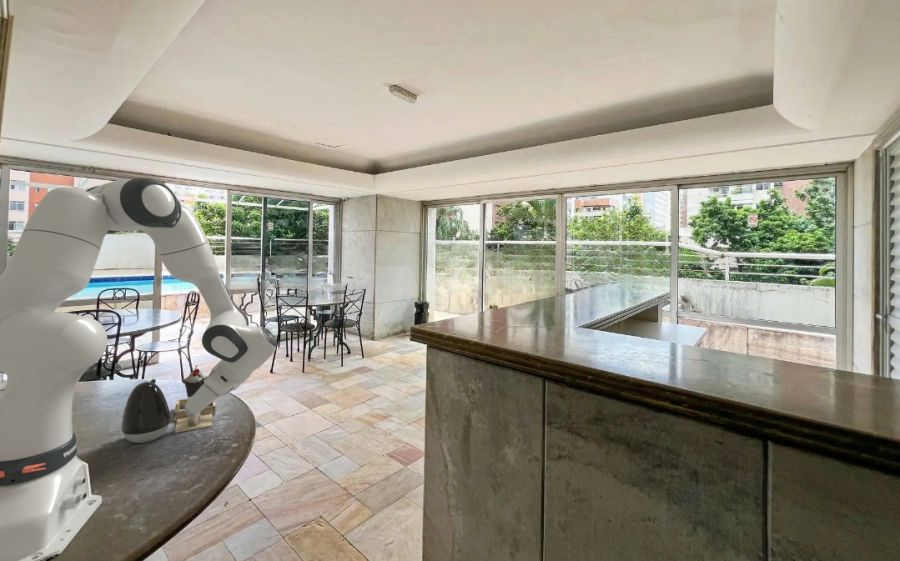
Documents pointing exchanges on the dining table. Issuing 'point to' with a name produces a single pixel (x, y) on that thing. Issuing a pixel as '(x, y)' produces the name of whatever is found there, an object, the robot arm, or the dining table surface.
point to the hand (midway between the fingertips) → (191, 409)
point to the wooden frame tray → (192, 417)
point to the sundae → (194, 381)
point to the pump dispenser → (145, 413)
